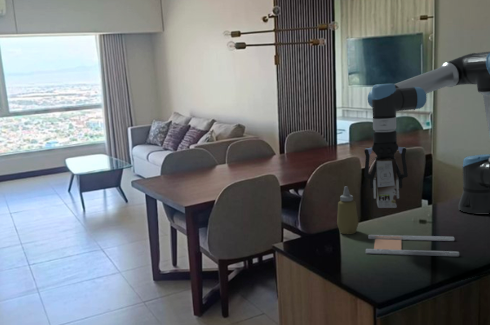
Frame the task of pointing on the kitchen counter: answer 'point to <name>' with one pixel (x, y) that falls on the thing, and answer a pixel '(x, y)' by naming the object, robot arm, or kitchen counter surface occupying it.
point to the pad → (387, 244)
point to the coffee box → (386, 183)
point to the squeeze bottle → (347, 213)
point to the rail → (412, 252)
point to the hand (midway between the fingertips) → (386, 197)
